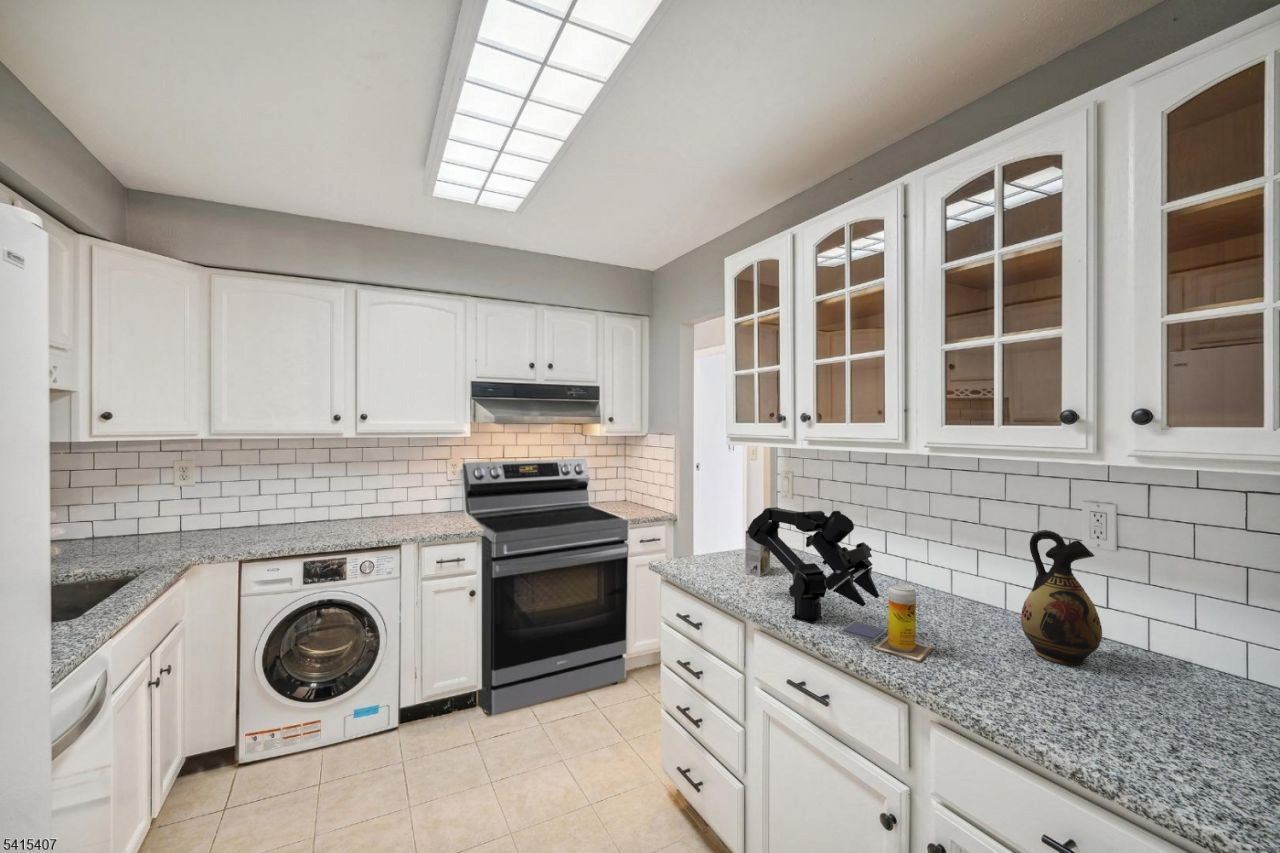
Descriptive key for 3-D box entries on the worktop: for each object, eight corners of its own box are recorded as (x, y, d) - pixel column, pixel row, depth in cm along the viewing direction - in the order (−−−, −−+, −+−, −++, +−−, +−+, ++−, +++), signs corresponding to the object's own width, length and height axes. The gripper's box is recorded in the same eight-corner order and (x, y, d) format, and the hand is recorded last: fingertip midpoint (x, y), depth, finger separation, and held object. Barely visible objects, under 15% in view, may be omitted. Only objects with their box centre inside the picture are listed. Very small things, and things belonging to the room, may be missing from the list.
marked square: (872, 649, 134) (872, 647, 134) (887, 636, 142) (887, 634, 142) (920, 662, 127) (920, 660, 127) (933, 648, 135) (934, 646, 135)
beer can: (903, 654, 131) (904, 591, 131) (882, 645, 136) (883, 585, 136) (920, 649, 134) (921, 588, 133) (899, 641, 139) (900, 582, 139)
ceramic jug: (1104, 657, 131) (1106, 533, 131) (1097, 678, 120) (1099, 542, 120) (1019, 637, 143) (1021, 523, 143) (1006, 654, 132) (1008, 531, 132)
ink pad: (839, 633, 145) (840, 629, 145) (853, 624, 151) (853, 620, 151) (874, 642, 138) (874, 638, 138) (887, 633, 145) (887, 629, 145)
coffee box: (754, 569, 208) (755, 527, 208) (770, 571, 205) (771, 529, 205) (744, 574, 201) (744, 530, 201) (760, 577, 197) (761, 532, 197)
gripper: (836, 538, 137) (881, 592, 130) (865, 528, 151) (907, 576, 143) (807, 563, 143) (847, 616, 135) (837, 552, 156) (876, 599, 149)
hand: (871, 601), depth 141 cm, fingers open, 9 cm apart
